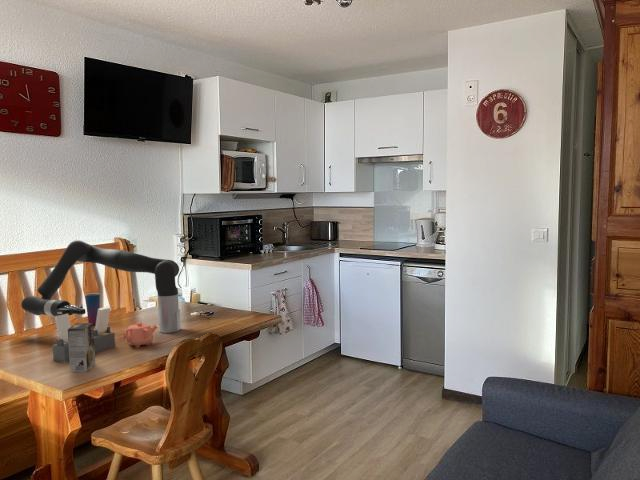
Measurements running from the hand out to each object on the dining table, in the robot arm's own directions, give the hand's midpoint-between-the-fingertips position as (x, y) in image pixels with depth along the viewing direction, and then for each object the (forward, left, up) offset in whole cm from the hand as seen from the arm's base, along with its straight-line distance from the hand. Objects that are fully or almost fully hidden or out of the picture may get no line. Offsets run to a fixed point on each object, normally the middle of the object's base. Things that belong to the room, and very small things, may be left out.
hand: (83, 311), depth 231 cm
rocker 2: (-9, +5, -8) cm, 12 cm away
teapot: (-25, +2, -15) cm, 29 cm away
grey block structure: (-5, +12, -15) cm, 19 cm away
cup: (+11, -39, -15) cm, 43 cm away
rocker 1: (-1, +19, -8) cm, 20 cm away
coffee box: (-12, +32, -15) cm, 37 cm away
